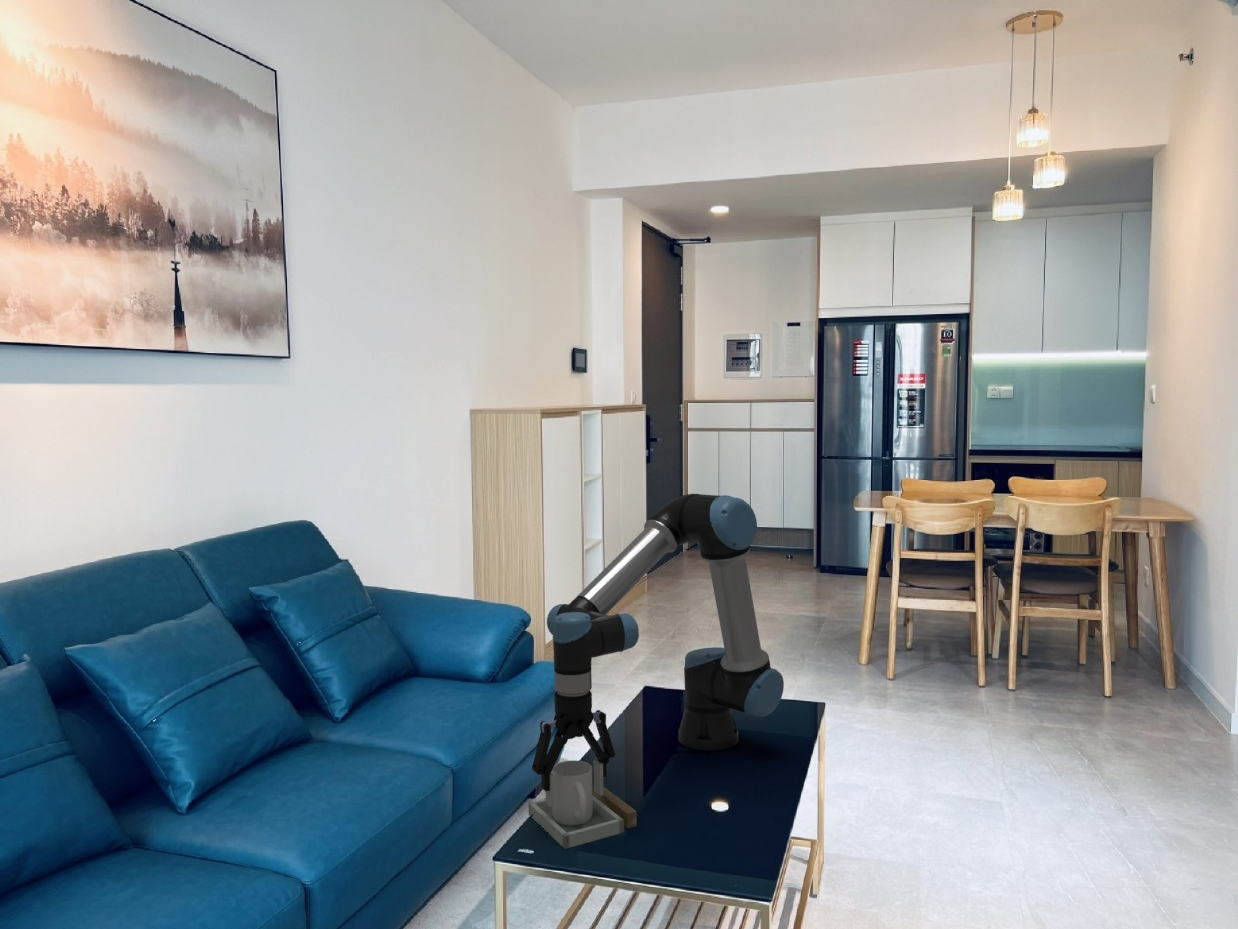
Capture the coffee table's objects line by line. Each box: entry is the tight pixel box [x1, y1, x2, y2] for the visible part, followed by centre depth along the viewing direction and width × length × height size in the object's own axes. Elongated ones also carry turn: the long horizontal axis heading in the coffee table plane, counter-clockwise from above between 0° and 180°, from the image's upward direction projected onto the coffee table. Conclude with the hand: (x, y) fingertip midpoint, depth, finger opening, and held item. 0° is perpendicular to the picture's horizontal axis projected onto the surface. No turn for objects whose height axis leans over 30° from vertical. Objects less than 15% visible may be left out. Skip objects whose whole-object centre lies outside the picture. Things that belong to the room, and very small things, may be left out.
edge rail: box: [592, 786, 638, 829], centre depth 182 cm, size 2×15×3 cm, turn 29°
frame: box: [528, 794, 625, 850], centre depth 177 cm, size 13×17×2 cm
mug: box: [551, 759, 593, 826], centre depth 177 cm, size 12×8×10 cm
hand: (574, 799), depth 177 cm, fingers open, 10 cm apart
